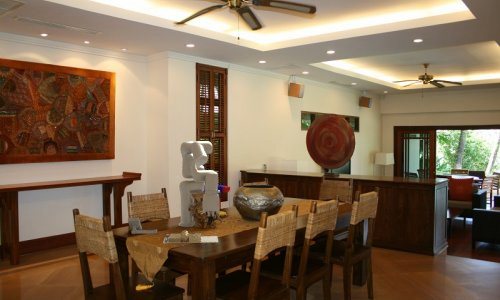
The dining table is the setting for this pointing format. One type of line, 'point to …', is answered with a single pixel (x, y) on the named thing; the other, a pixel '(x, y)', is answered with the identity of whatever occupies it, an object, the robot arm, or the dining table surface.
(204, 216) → the decorative coral sculpture
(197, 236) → the door leaf
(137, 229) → the door handle
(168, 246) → the dining table surface
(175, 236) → the frame leaf
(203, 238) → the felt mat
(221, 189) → the figurine
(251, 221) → the dining table surface
